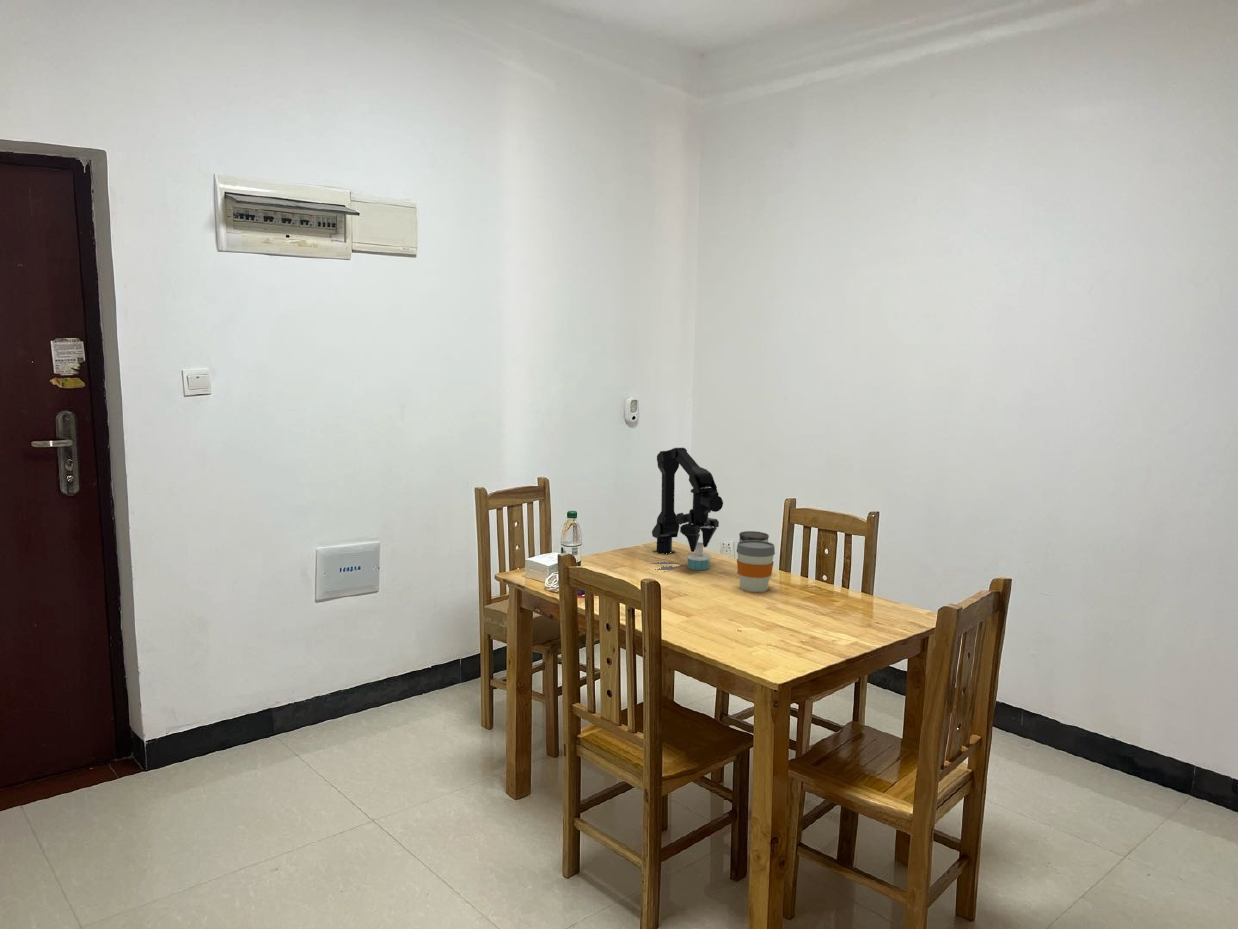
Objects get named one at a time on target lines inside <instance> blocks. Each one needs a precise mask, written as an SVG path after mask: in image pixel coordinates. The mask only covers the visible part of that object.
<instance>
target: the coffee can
mask: <svg viewBox="0 0 1238 929" xmlns="http://www.w3.org/2000/svg"><path fill="white" fill-rule="evenodd" d="M769 538H770V536H769V534H768V533H766V532H762V531H753V530H750V531H749V530H746V531H741V532H739V540H738V542H740V541H745V540H758V541H766V542H769Z"/></svg>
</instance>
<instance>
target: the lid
mask: <svg viewBox="0 0 1238 929" xmlns="http://www.w3.org/2000/svg"><path fill="white" fill-rule="evenodd" d="M685 557H686V559H687V560H688V559H690V560H696V561H706V560H709V561H710V560H712V555H711V554H709V553H705V552H704V547H703V542H699V541H698V542H697V546H696V549H695V551H694V552H689V553H686V554H685Z"/></svg>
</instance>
